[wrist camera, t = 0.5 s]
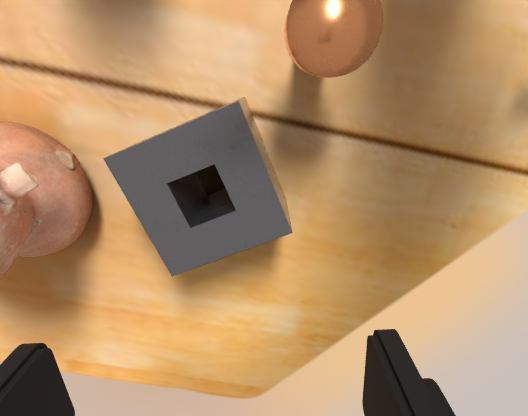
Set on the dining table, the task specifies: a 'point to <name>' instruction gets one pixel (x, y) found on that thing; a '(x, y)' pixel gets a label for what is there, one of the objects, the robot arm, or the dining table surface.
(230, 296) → the dining table surface
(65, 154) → the ceramic jug
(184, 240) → the hitch block
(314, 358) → the dining table surface
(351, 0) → the copper pin
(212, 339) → the dining table surface
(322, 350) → the dining table surface
